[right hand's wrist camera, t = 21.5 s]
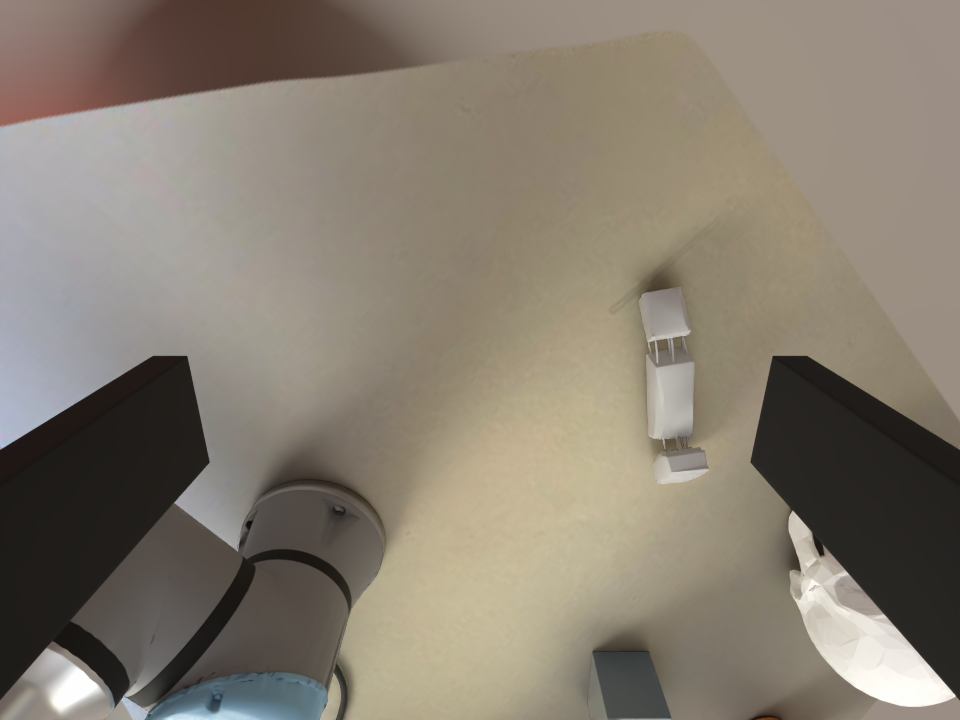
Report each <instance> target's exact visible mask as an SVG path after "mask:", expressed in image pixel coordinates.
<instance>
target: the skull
mask: <svg viewBox="0 0 960 720" xmlns="http://www.w3.org/2000/svg"><path fill="white" fill-rule="evenodd" d="M788 528H789V533H790V536H791V538H792V541H793V544H794V546H795V549H796V553H797V556H798V558H799V562H800V567H801V571H797V570H791V571H790V574H789V576H790V580H791V587H790V593H791V595H792V597H793V598H794V599H795V601H796V603H797V605H798V607H799V609H800V611H801V614H802V618H803V621H804V624H805V627H806V629H807V631H808V634H809V636H810V638H811V640H812V641H813V643H814V645H815V646H816V648H817V649H818V651H819V652H820V654H821V655H822V656H823V658H824V659H825V660H826V661H827V662H828V663H829V664H830V665H831V666H832V668H833V669H834V670H835V671H836V672H837V673H838V674H839V675H840V676H842V677H843V678H844V679H845V680H846V681H848V682H849V683H850V684H852V685H853V686H854V687H856V688H857V689H859V690H861V691H863V692H864V693H866V694H868V695H870V696H872V697H875V698H877V699H880V700H882V701H886V702H889V703H893V704H896V705H900V706H909V707H923V706H928V705H933V704H938V703H941V702H944V701H947V700H949V699H951V698H953V697H955V694H954V693H953V692H952V691H951V690H950V689H949V688H948V686H947V685H946V684H945V683H944V682H943V681H942V680H941V678H940V677H939V676H938V675H937V674H936V673H935V672H934V670H933V669H932V668H931V667H930V666H929V665H928V664H927V663H926V661H925V660H924V659H923V658H922V657H921V656H920V655H919V653H918V652H917V651H916V650H915V649H914V648H913V647H912V645H911V644H910V643H909V642H908V641H907V640H906V639H905V638H904V636H903V635H902V634H901V633H900V632H899V631H898V630H897V628H896V627H895V626H894V625H893V624H892V623H891V622H890V620H889V619H888V618H887V617H886V616H885V615H884V614H883V613H882V611H881V610H880V609H879V608H878V607H877V606H876V605H875V603H874V602H873V601H872V600H871V599H870V598H869V597H868V595H867V594H866V593H865V592H864V591H863V590H862V589H861V587H860V586H859V585H858V584H857V583H856V582H855V581H854V580H853V578H852V577H851V576H850V575H849V574H848V573H847V572H846V570H845V569H844V568H843V567H842V566H841V565H840V564H839V562H838V561H837V560H836V559H835V558H834V557H833V556H832V555H831V553H830V552H829V551H828V550H827V549H826V548H825V547H824V545H823V544H822V545H823V549H824V555H825V556H823V555H821V556H820V555H819V553H818V551H817V549H816V547H815V544H814V539H813V533H812V532H811V531H810V530H809V528H808V527H807V526H806V525H805V524H804V523H803V522H802V520H801V519H800V518H799V517H798V516H797V515H796V514H795V512H794V511H792V512H791V514H790V516H789V522H788Z"/></svg>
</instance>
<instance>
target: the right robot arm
mask: <svg viewBox="0 0 960 720" xmlns="http://www.w3.org/2000/svg"><path fill="white" fill-rule="evenodd" d="M208 464H209V457H208V452H207V448H206V443H205V438H204V433H203V429H202V424H201V419H200V414H199V410H198V405H197V400H196V395H195V391H194V386H193V381H192V376H191V372H190V367H189V362H188V357H187V356H152V357H151V358H149V359H147V360H146V361H144V362H142V363H141V364H139V365H138V366H136V367H134V368H133V369H131V370H129V371H128V372H126V373H125V374H123V375H121V376H120V377H118V378H116V379H115V380H113V381H112V382H110V383H108V384H107V385H105V386H103V387H102V388H100V389H99V390H97V391H95V392H94V393H92V394H90V395H89V396H87V397H86V398H84V399H82V400H81V401H79V402H77V403H76V404H74V405H73V406H71V407H69V408H68V409H66V410H64V411H63V412H61V413H60V414H58V415H56V416H55V417H53V418H51V419H50V420H48V421H47V422H45V423H43V424H42V425H40V426H38V427H37V428H35V429H33V430H32V431H30V432H29V433H27V434H25V435H24V436H22V437H20V438H19V439H17V440H16V441H14V442H12V443H11V444H9V445H7V446H6V447H4V448H3V449H1V450H0V720H105V719H106V718H107V717H108V716H109V715H110V714H111V712H112V711H113V710H114V708H115V707H116V705H117V704H118V703H119V701H120V700H121V699H122V697H123V696H124V697H126V698H128V699H129V700H131V701H133V702H134V703H136V704H137V705H139V706H141V707H142V708H143V709H145V710H146V711H148V712H149V713H148V715H147V717H146V718H145V720H320V717H321V715H322V712H323V711H324V709H325V707H326V704H327V701H328V691H329V687H330V683H331V680H332V676H333V672H334V673H335V675H336V677H337V679H338V681H339V684H340V688H341V704H340V708H339V712H338V715H337V718H336V720H342V719H343V715H344V712H345V709H346V704H347V686H346V682H345V678H344V676H343V674H342V672H341V670H340V668H339V666H338V665H337V663H336V661H337V658H338V654H339V651H340V647H341V643H342V640H343V636H344V632H345V629H346V625H347V621H348V617H349V614H350V611H351V608H352V607H353V606H354V604H355V603H356V601H357V600H358V599H359V597H360V596H361V594H362V593H363V591H364V590H366V589H367V587H368V586H369V585H370V584H371V582H372V581H373V580H374V578H375V577H376V575H377V574H378V572H379V569H380V566H381V563H382V559H383V555H384V550H385V534H384V529H383V526H382V524H381V521H380V519H379V517H378V516H377V514H376V513H375V511H374V510H373V509H372V508H371V506H370V505H369V504H368V503H367V502H366V501H365V500H363V499H362V498H361V497H360V496H358V495H357V494H355V493H354V492H352V491H350V490H348V489H346V488H344V487H342V486H339V485H337V484H333V483H330V482H325V481H319V480H298V481H292V482H287V483H284V484H281V485H279V486H277V487H274V488H273V489H271V490H269V491H268V492H266V493H265V494H264V495H263V496H262V497H260V498H259V500H258V501H257V502H256V503H255V505H254V506H253V508H252V509H251V511H250V512H249V514H248V515H247V517H246V519H245V521H244V523H243V526H242V529H241V533H240V537H239V541H238V545H239V548H238V545H237V549H238V552H237V550H235V549H234V548H232V547H231V546H230V545H228V544H227V543H226V542H224V541H223V540H222V539H220V538H219V537H218V536H217V535H215V534H214V533H213V532H211V531H210V530H209V529H207V528H206V527H205V526H203V525H202V524H201V523H199V522H198V521H197V520H196V519H194V518H193V517H192V516H190V515H189V514H188V513H186V512H185V511H184V510H182V509H181V508H180V507H179V506H177V505H176V504H175V503H174V502H175V501H176V500H177V499H178V498H179V497H180V495H181V494H182V493H183V492H184V491H185V490H186V489H187V487H188V486H189V485H190V484H191V483H192V482H193V481H194V479H195V478H196V477H197V476H198V475H199V474H200V473H201V472H202V470H203V469H204V468H205V467H206V466H207V465H208ZM751 464H752V465H753V466H754V467H755V468H756V469H757V470H758V472H759V473H760V474H761V475H762V476H763V477H764V478H765V479H766V481H767V482H768V483H769V484H770V485H771V486H772V487H773V489H774V490H775V491H776V492H777V493H778V494H779V495H780V497H781V498H782V499H783V500H784V501H785V502H786V503H787V504H788V506H789V507H790V508H791V509H792V510H793V511H794V512H795V514H796V515H797V516H798V517H799V518H800V519H801V520H802V522H803V523H804V524H805V525H806V526H807V527H808V528H809V530H810V531H811V532H812V533H813V534H814V535H815V536H816V537H817V539H818V540H819V541H820V542H821V543H822V544H823V545H824V547H825V548H826V549H827V550H828V551H829V552H830V553H831V555H832V556H833V557H834V558H835V559H836V560H837V561H838V562H839V564H840V565H841V566H842V567H843V568H844V569H845V570H846V572H847V573H848V574H849V575H850V576H851V577H852V578H853V580H854V581H855V582H856V583H857V584H858V585H859V586H860V587H861V589H862V590H863V591H864V592H865V593H866V594H867V595H868V597H869V598H870V599H871V600H872V601H873V602H874V603H875V605H876V606H877V607H878V608H879V609H880V610H881V611H882V613H883V614H884V615H885V616H886V617H887V618H888V619H889V620H890V622H891V623H892V624H893V625H894V626H895V627H896V628H897V630H898V631H899V632H900V633H901V634H902V635H903V636H904V638H905V639H906V640H907V641H908V642H909V643H910V644H911V645H912V647H913V648H914V649H915V650H916V651H917V652H918V653H919V655H920V656H921V657H922V658H923V659H924V660H925V661H926V663H927V664H928V665H929V666H930V667H931V668H932V669H933V670H934V672H935V673H936V674H937V675H938V676H939V677H940V678H941V680H942V681H943V682H944V683H945V684H946V685H947V686H948V688H949V689H950V690H951V691H952V692H953V693H954V694H955V696H956V697H957V698H958V699H959V700H960V450H959V449H957V448H956V447H954V446H953V445H951V444H949V443H948V442H946V441H944V440H943V439H941V438H940V437H938V436H936V435H935V434H933V433H931V432H930V431H928V430H927V429H925V428H923V427H922V426H920V425H918V424H917V423H915V422H913V421H912V420H910V419H909V418H907V417H905V416H904V415H902V414H900V413H899V412H897V411H896V410H894V409H892V408H891V407H889V406H887V405H886V404H884V403H883V402H881V401H879V400H878V399H876V398H874V397H873V396H871V395H870V394H868V393H866V392H865V391H863V390H861V389H860V388H858V387H857V386H855V385H853V384H852V383H850V382H848V381H847V380H845V379H844V378H842V377H840V376H839V375H837V374H835V373H834V372H832V371H831V370H829V369H827V368H826V367H824V366H822V365H821V364H819V363H818V362H816V361H814V360H813V359H811V358H809V357H808V356H773V357H772V362H771V367H770V372H769V376H768V381H767V386H766V391H765V395H764V400H763V405H762V410H761V414H760V419H759V424H758V429H757V433H756V438H755V443H754V448H753V452H752V457H751Z"/></svg>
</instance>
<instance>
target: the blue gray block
mask: <svg viewBox="0 0 960 720" xmlns="http://www.w3.org/2000/svg"><path fill="white" fill-rule="evenodd" d="M587 705H588V710H589V715H590V720H671V719H672V718H671V715H670V712H669V709H668V706H667V703H666V700H665V697H664V695H663V692H662V689H661V686H660V683H659V680H658V677H657V674H656V671H655V668H654V665H653V662H652V659H651V656H650V654H649V652H592V660H591V670H590V680H589V690H588V699H587Z"/></svg>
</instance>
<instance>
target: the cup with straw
mask: <svg viewBox="0 0 960 720" xmlns="http://www.w3.org/2000/svg"><path fill="white" fill-rule="evenodd" d="M756 720H779V719H776V718H771V717H764V718H759V719H756Z"/></svg>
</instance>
